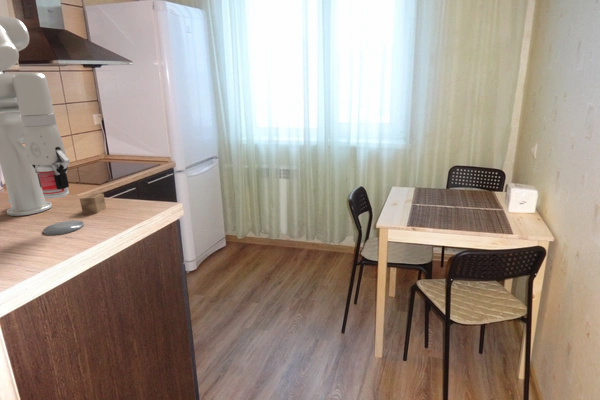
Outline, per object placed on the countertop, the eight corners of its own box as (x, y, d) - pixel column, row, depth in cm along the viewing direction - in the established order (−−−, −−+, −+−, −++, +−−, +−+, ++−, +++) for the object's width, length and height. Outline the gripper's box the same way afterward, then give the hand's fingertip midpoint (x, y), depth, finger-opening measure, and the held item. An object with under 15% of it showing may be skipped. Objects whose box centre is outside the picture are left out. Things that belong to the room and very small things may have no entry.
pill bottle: (70, 196, 111) (61, 156, 108) (44, 200, 108) (34, 160, 105) (68, 191, 116) (59, 153, 113) (43, 195, 113) (34, 157, 110)
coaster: (35, 232, 113) (35, 230, 113) (68, 220, 122) (68, 218, 121) (59, 237, 109) (58, 234, 109) (91, 224, 117) (90, 222, 117)
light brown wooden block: (82, 213, 128) (79, 198, 127) (91, 208, 133) (88, 193, 132) (97, 213, 128) (94, 198, 127) (106, 208, 133) (103, 193, 131)
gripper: (4, 123, 107) (21, 188, 112) (47, 123, 99) (62, 193, 105) (33, 120, 113) (47, 182, 118) (74, 120, 106) (88, 186, 111)
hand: (54, 186), depth 111 cm, fingers closed on pill bottle, 6 cm apart
